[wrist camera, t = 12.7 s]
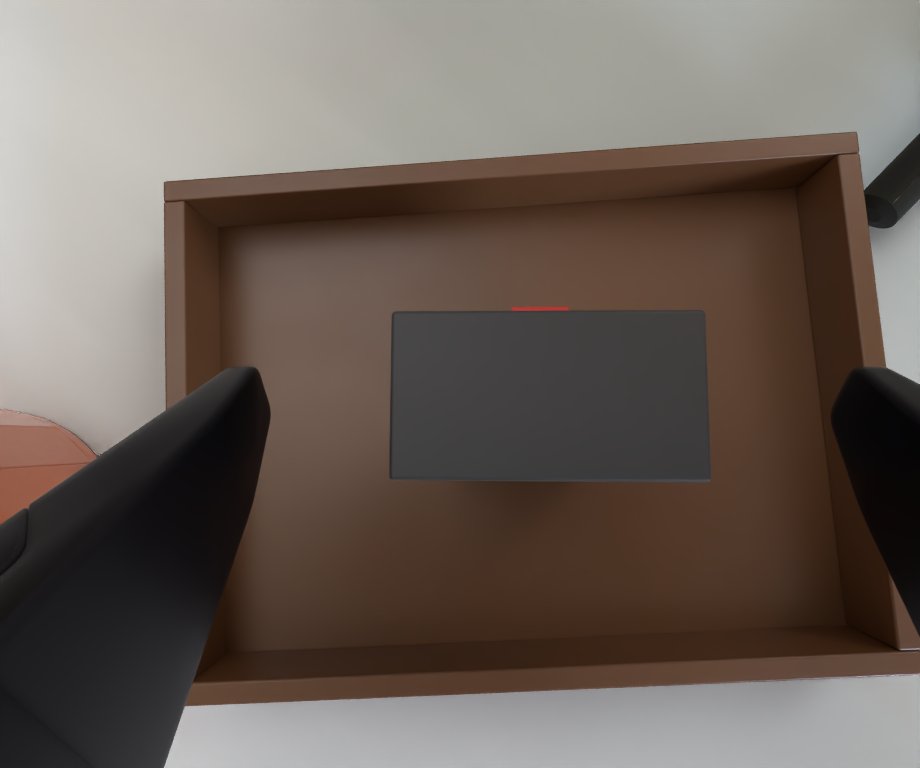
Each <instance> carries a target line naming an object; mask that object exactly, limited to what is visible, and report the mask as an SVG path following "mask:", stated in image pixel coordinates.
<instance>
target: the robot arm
mask: <svg viewBox="0 0 920 768" xmlns="http://www.w3.org/2000/svg"><path fill="white" fill-rule="evenodd" d="M270 420H271V410H270V404H269V401H268V398H267V395H266V391H265V388H264V385H263V381H262V378H261V375H260V373H259V371H258V369H256V368H255V367H252V366H234V367H228V368H227V369H225V370H224V371H222V372H221V373H219V374H218V375H216V376H215V377H214V378H212V379H211V380H209V381H208V382H206V383H205V384H203V385H202V386H200V387H199V388H198V389H196V390H195V391H193V392H192V393H190V394H189V395H187V396H186V397H185V398H183V399H182V400H180V401H179V402H177V403H176V404H174V405H173V406H171V407H170V408H169V409H167V410H166V411H164V412H163V413H161V414H160V415H158V416H157V417H156V418H154V419H153V420H151V421H150V422H148V423H147V424H145V425H144V426H142V427H141V428H140V429H138V430H137V431H135V432H134V433H132V434H131V435H129V436H128V437H126V438H125V439H124V440H122V441H121V442H119V443H118V444H116V445H115V446H113V447H112V448H111V449H109V450H108V451H106V452H105V453H103V454H102V455H100V456H99V457H97V458H96V459H95V460H93V461H92V462H90V463H89V464H87V465H86V466H84V467H83V468H81V469H80V470H79V471H77V472H76V473H74V474H73V475H71V476H70V477H68V478H67V479H65V480H64V481H63V482H61V483H60V484H58V485H57V486H55V487H54V488H52V489H51V490H50V491H48V492H47V493H45V494H44V495H42V496H41V497H39V498H38V499H36V500H35V501H34V502H32V503H31V504H30V505H29V509H27V508H24V509H22V510H20V511H19V512H17V513H16V514H15V515H13V516H12V517H10V518H9V519H7V520H6V521H4V522H3V523H1V524H0V768H164V766H165V763H166V760H167V757H168V754H169V751H170V748H171V745H172V742H173V739H174V736H175V733H176V730H177V727H178V724H179V721H180V718H181V715H182V712H183V710H184V707H185V704H186V701H187V698H188V695H189V692H190V689H191V686H192V683H193V680H194V677H195V674H196V671H197V668H198V665H199V662H200V659H201V656H202V653H203V651H204V648H205V645H206V642H207V639H208V636H209V633H210V630H211V627H212V624H213V621H214V618H215V615H216V612H217V609H218V606H219V603H220V600H221V597H222V594H223V592H224V589H225V586H226V583H227V580H228V577H229V574H230V571H231V568H232V565H233V562H234V559H235V556H236V553H237V550H238V547H239V544H240V541H241V538H242V535H243V533H244V530H245V527H246V524H247V521H248V518H249V514H250V511H251V508H252V505H253V501H254V497H255V492H256V488H257V483H258V478H259V473H260V469H261V464H262V459H263V454H264V449H265V444H266V440H267V435H268V430H269V425H270ZM830 422H831V426H832V429H833V432H834V435H835V438H836V441H837V444H838V447H839V450H840V453H841V456H842V459H843V462H844V465H845V468H846V471H847V474H848V477H849V480H850V483H851V486H852V489H853V492H854V495H855V497H856V500H857V503H858V505H859V508H860V511H861V513H862V515H863V518H864V520H865V522H866V524H867V527H868V529H869V531H870V533H871V535H872V537H873V539H874V541H875V544H876V546H877V548H878V550H879V552H880V554H881V556H882V558H883V561H884V563H885V565H886V567H887V569H888V571H889V573H890V575H891V578H892V580H893V582H894V584H895V586H896V588H897V590H898V592H899V595H900V597H901V599H902V601H903V603H904V605H905V607H906V609H907V612H908V614H909V616H910V618H911V620H912V622H913V624H914V626H915V629H916V631H917V633H918V635H919V637H920V384H918V383H916V382H914V381H912V380H910V379H908V378H906V377H904V376H902V375H900V374H898V373H896V372H894V371H892V370H890V369H888V368H885V367H857V368H854V369H853V370H851V371H850V372H849V374H848V375H847V377H846V379H845V381H844V383H843V385H842V387H841V389H840V391H839V393H838V395H837V397H836V399H835V401H834V403H833V405H832V408H831V412H830Z"/></svg>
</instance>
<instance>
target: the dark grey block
mask: <svg viewBox="0 0 920 768" xmlns="http://www.w3.org/2000/svg"><path fill="white" fill-rule="evenodd" d="M389 477H390V479H392V480H415V481H562V482H709V481H710V480H711V459H710V431H709V403H708V374H707V346H706V317H705V312H704V311H702V310H569V307H512V308H511V311H395V312H393V313H392V319H391V385H390V451H389Z"/></svg>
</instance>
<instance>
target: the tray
mask: <svg viewBox="0 0 920 768" xmlns="http://www.w3.org/2000/svg"><path fill="white" fill-rule="evenodd" d="M858 152H859V146H858V138H857V132H846V133H832V134H818V135H805V136H791V137H777V138H763V139H749V140H735V141H721V142H708V143H694V144H680V145H666V146H652V147H638V148H624V149H611V150H597V151H583V152H569V153H555V154H541V155H527V156H514V157H500V158H486V159H472V160H458V161H444V162H430V163H417V164H403V165H389V166H375V167H361V168H347V169H333V170H320V171H306V172H292V173H278V174H264V175H250V176H236V177H223V178H209V179H195V180H181V181H167V182H164V201H165V203H164V252H165V366H166V410H167V409H169V408H170V407H171V406H173V405H174V404H176V403H177V402H179V401H180V400H182V399H183V398H185V397H186V396H187V395H189V394H190V393H192V392H193V391H195V390H196V389H198V388H199V387H200V386H202V385H203V384H205V383H206V382H208V381H209V380H211V379H212V378H214V377H215V376H216V375H218V374H219V373H221V372H222V371H224V370H225V369H227V368H228V367H234V366H252V367H255V368H256V369H258V371H259V373H260V375H261V378H262V381H263V385H264V388H265V391H266V395H267V398H268V401H269V404H270V410H271V420H270V425H269V430H268V435H267V440H266V444H265V449H264V454H263V459H262V464H261V469H260V473H259V478H258V483H257V488H256V492H255V497H254V501H253V505H252V508H251V511H250V514H249V518H248V521H247V524H246V527H245V530H244V533H243V535H242V538H241V541H240V544H239V547H238V550H237V553H236V556H235V559H234V562H233V565H232V568H231V571H230V574H229V577H228V580H227V583H226V586H225V589H224V592H223V594H222V597H221V600H220V603H219V606H218V609H217V612H216V615H215V618H214V621H213V624H212V627H211V630H210V633H209V636H208V639H207V642H206V645H205V648H204V651H203V653H202V656H201V659H200V662H199V665H198V668H197V671H196V674H195V677H194V680H193V683H192V686H191V689H190V692H189V695H188V698H187V701H186V704H185V706H199V705H223V704H246V703H270V702H293V701H317V700H340V699H364V698H387V697H411V696H434V695H458V694H481V693H505V692H528V691H552V690H575V689H599V688H622V687H646V686H669V685H693V684H716V683H740V682H763V681H787V680H810V679H834V678H857V677H881V676H904V675H920V637H919V635H918V633H917V631H916V629H915V626H914V624H913V622H912V620H911V618H910V616H909V614H908V612H907V609H906V607H905V605H904V603H903V601H902V599H901V597H900V595H899V592H898V590H897V588H896V586H895V584H894V582H893V580H892V578H891V575H890V573H889V571H888V569H887V567H886V565H885V563H884V561H883V558H882V556H881V554H880V552H879V550H878V548H877V546H876V544H875V541H874V539H873V537H872V535H871V533H870V531H869V529H868V527H867V524H866V522H865V520H864V518H863V515H862V513H861V511H860V508H859V505H858V503H857V500H856V497H855V495H854V492H853V489H852V486H851V483H850V480H849V477H848V474H847V471H846V468H845V465H844V462H843V459H842V456H841V453H840V450H839V447H838V444H837V441H836V438H835V435H834V432H833V429H832V426H831V422H830V412H831V408H832V405H833V403H834V401H835V399H836V397H837V395H838V393H839V391H840V389H841V387H842V385H843V383H844V381H845V379H846V377H847V375H848V374H849V372H850V371H851V370H853V369H854V368H857V367H885V368H886V363H885V355H884V347H883V339H882V331H881V323H880V315H879V307H878V299H877V291H876V283H875V275H874V267H873V259H872V252H871V244H870V236H869V228H868V220H867V212H866V204H865V196H864V188H863V180H862V172H861V164H860V156H859V154H858ZM512 307H569V310H702V311H704V312H705V317H706V346H707V374H708V403H709V431H710V459H711V480H710V481H709V482H562V481H415V480H392V479H390V477H389V451H390V385H391V319H392V313H393V312H395V311H511V308H512Z"/></svg>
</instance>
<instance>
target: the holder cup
mask: <svg viewBox="0 0 920 768" xmlns="http://www.w3.org/2000/svg"><path fill="white" fill-rule="evenodd" d="M96 458H97V456H96V455H95V454H94V453H93V452H92V451H91V450H90V448H89V447H88V446H87V445H86V444H85V443H83V442H82V441H81V440H80V439H79V438H78V437H76V436H75V435H74V434H73V433H71V432H69V431H68V430H66V429H65V428H63V427H61V426H60V425H58V424H55V423H53V422H51V421H49V420H46V419H44V418H40V417H37V416H33V415H30V414H23V413H17V412H15V411H12V410H1V409H0V524H1V523H3V522H4V521H6V520H7V519H9V518H10V517H12V516H13V515H15V514H16V513H17V512H19V511H20V510H22V509H24V508H27V509H29V505H30V504H31V503H32V502H34V501H35V500H36V499H38V498H39V497H41V496H42V495H44V494H45V493H47V492H48V491H50V490H51V489H52V488H54V487H55V486H57V485H58V484H60V483H61V482H63V481H64V480H65V479H67V478H68V477H70V476H71V475H73V474H74V473H76V472H77V471H79V470H80V469H81V468H83V467H84V466H86V465H87V464H89V463H90V462H92V461H93V460H95V459H96Z"/></svg>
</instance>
